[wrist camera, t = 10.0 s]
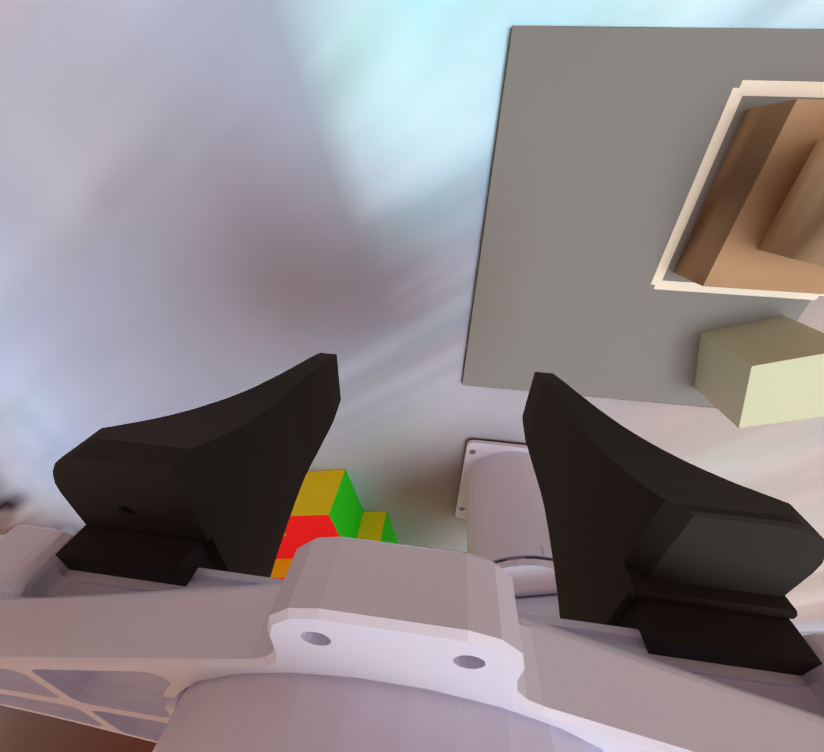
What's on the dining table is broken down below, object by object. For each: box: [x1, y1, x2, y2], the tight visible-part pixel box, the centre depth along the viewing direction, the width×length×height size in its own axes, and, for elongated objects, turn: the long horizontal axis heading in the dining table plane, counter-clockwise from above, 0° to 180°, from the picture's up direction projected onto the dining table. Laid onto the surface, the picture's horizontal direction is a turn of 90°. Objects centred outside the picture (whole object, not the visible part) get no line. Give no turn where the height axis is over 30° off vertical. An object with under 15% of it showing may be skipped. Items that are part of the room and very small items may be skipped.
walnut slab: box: [674, 99, 824, 294], centre depth 15 cm, size 7×7×2 cm
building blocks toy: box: [270, 469, 399, 579], centre depth 30 cm, size 19×25×18 cm
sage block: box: [694, 316, 824, 428], centre depth 18 cm, size 4×4×4 cm
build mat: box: [462, 26, 824, 408], centre depth 18 cm, size 18×18×1 cm
